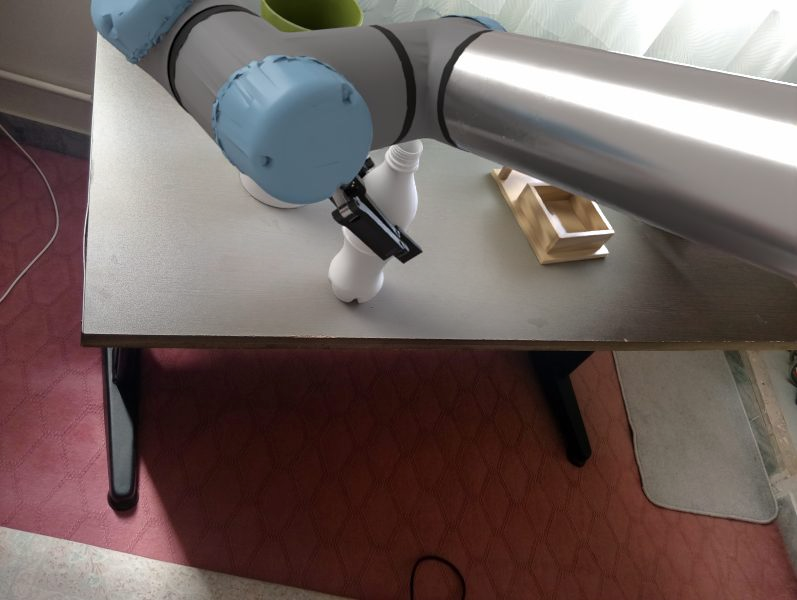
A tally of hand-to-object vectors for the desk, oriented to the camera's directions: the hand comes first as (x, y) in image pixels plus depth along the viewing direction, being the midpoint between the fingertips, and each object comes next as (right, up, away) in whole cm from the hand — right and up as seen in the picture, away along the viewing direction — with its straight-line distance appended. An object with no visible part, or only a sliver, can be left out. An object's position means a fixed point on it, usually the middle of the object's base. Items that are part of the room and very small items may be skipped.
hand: (399, 229), depth 64 cm
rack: (+25, +6, +28) cm, 39 cm away
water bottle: (-6, -7, +8) cm, 12 cm away
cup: (-17, +9, +15) cm, 25 cm away
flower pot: (-17, +26, +26) cm, 41 cm away
